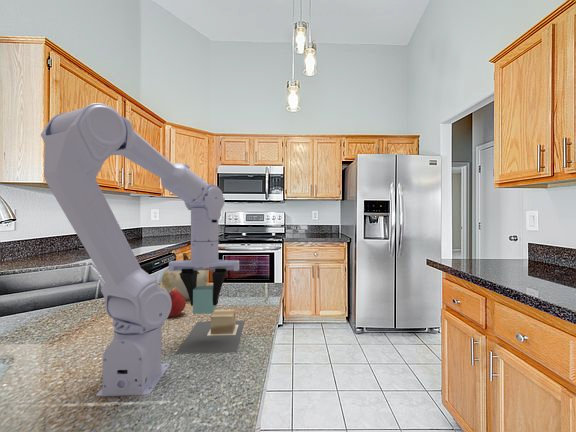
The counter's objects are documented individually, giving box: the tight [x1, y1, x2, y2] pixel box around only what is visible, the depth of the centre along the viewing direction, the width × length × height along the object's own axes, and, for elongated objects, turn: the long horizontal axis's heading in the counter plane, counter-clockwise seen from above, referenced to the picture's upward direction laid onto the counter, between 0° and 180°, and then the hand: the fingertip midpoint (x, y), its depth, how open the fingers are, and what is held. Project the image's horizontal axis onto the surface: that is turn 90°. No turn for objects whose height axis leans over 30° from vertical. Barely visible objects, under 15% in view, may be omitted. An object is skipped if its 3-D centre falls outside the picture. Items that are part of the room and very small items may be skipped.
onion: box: [168, 288, 187, 318], centre depth 81 cm, size 6×6×8 cm
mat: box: [174, 320, 246, 355], centre depth 68 cm, size 18×12×1 cm, turn 3°
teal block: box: [192, 284, 217, 315], centre depth 64 cm, size 4×4×5 cm
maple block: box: [210, 309, 236, 334], centre depth 71 cm, size 5×5×4 cm
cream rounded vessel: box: [161, 252, 209, 301], centre depth 102 cm, size 20×15×15 cm
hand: (204, 304), depth 64 cm, fingers closed on teal block, 4 cm apart
